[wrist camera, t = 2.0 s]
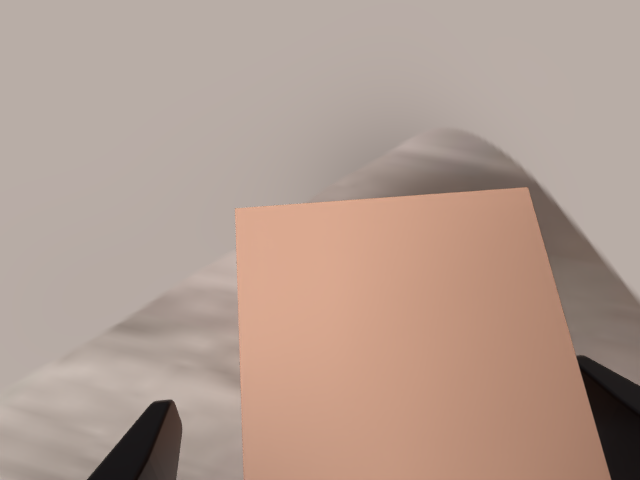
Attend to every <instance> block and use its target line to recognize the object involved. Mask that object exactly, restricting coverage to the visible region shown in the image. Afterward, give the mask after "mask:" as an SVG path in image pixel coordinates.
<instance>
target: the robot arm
mask: <svg viewBox="0 0 640 480" xmlns="http://www.w3.org/2000/svg"><path fill="white" fill-rule="evenodd" d="M576 358H577V361H578V365H579V368H580V372H581V375H582V379H583V382H584V386H585V389H586V393H587V396H588V400H589V403H590V407H591V410H592V414H593V418H594V421H595V425H596V428H597V432H598V435H599V439H600V442H601V446H602V449H603V453H604V456H605V460H606V463H607V467H608V470H609V474H610V477H611V480H640V386H639V385H637V384H635V383H633V382H631V381H630V380H628V379H626V378H624V377H622V376H621V375H619V374H617V373H615V372H613V371H611V370H610V369H608V368H606V367H604V366H602V365H601V364H599V363H597V362H595V361H593V360H591V359H590V358H588V357H586V356H582V355H578V356H576ZM181 437H182V423H181V420H180V417H179V414H178V411H177V408H176V405H175V403H174V401H173V400H161V401H155V402H153V403H152V404H150V406H149V407H148V408H147V409H146V410H145V411H144V413H143V414H142V415H141V416H140V417H139V419H138V420H137V421H136V422H135V423H134V425H133V426H132V427H131V428H130V429H129V430H128V432H127V433H126V434H125V435H124V436H123V438H122V439H121V440H120V441H119V442H118V444H117V445H116V446H115V447H114V448H113V449H112V451H111V452H110V453H109V454H108V455H107V457H106V458H105V459H104V460H103V461H102V463H101V464H100V465H99V466H98V467H97V468H96V470H95V471H94V472H93V473H92V474H91V476H90V477H89V478H88V479H87V480H176V476H177V468H178V460H179V453H180V445H181Z"/></svg>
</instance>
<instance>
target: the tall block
mask: <svg viewBox="0 0 640 480" xmlns="http://www.w3.org/2000/svg"><path fill="white" fill-rule="evenodd" d="M235 219H236V252H237V283H238V315H239V346H240V378H241V409H242V441H243V472H244V480H611V477H610V474H609V470H608V467H607V463H606V460H605V456H604V453H603V449H602V446H601V442H600V439H599V435H598V432H597V428H596V425H595V421H594V418H593V414H592V410H591V407H590V403H589V400H588V396H587V393H586V389H585V386H584V382H583V379H582V375H581V372H580V368H579V365H578V361H577V358H576V354H575V351H574V347H573V344H572V340H571V337H570V333H569V330H568V326H567V323H566V319H565V316H564V312H563V309H562V305H561V302H560V298H559V295H558V291H557V288H556V284H555V281H554V277H553V274H552V270H551V267H550V263H549V260H548V256H547V253H546V249H545V246H544V242H543V238H542V235H541V231H540V228H539V224H538V221H537V217H536V214H535V210H534V207H533V203H532V200H531V196H530V193H529V189H528V187H523V188H509V189H495V190H481V191H468V192H454V193H440V194H427V195H413V196H399V197H385V198H372V199H358V200H344V201H331V202H317V203H303V204H289V205H276V206H263V207H249V208H235Z"/></svg>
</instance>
